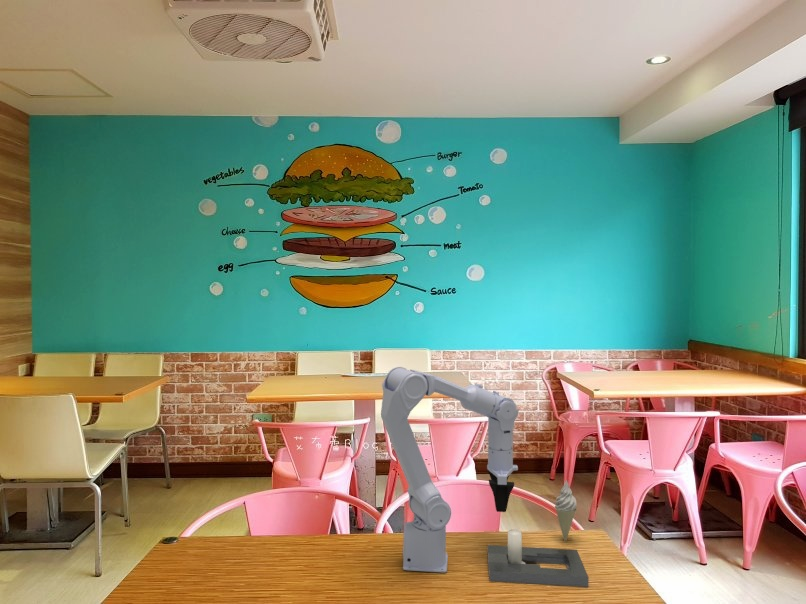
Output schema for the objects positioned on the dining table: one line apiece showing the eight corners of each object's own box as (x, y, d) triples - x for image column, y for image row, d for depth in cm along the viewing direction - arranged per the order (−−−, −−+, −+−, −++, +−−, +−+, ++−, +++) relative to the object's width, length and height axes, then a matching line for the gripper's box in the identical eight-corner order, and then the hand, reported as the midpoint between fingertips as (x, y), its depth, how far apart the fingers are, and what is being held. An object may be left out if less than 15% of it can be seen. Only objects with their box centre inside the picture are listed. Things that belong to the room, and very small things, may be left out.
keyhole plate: (489, 581, 116) (489, 571, 116) (487, 554, 128) (487, 544, 128) (588, 587, 114) (588, 576, 114) (576, 558, 126) (576, 549, 126)
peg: (503, 573, 119) (503, 536, 119) (502, 562, 124) (502, 526, 124) (527, 575, 119) (527, 538, 118) (525, 563, 124) (525, 528, 123)
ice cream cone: (577, 546, 132) (577, 483, 132) (555, 544, 133) (555, 482, 133) (575, 537, 137) (575, 476, 136) (553, 535, 138) (554, 475, 137)
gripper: (520, 457, 122) (520, 518, 123) (515, 439, 137) (514, 494, 137) (488, 455, 123) (488, 516, 124) (486, 438, 138) (485, 492, 138)
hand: (500, 504), depth 130 cm, fingers open, 7 cm apart
